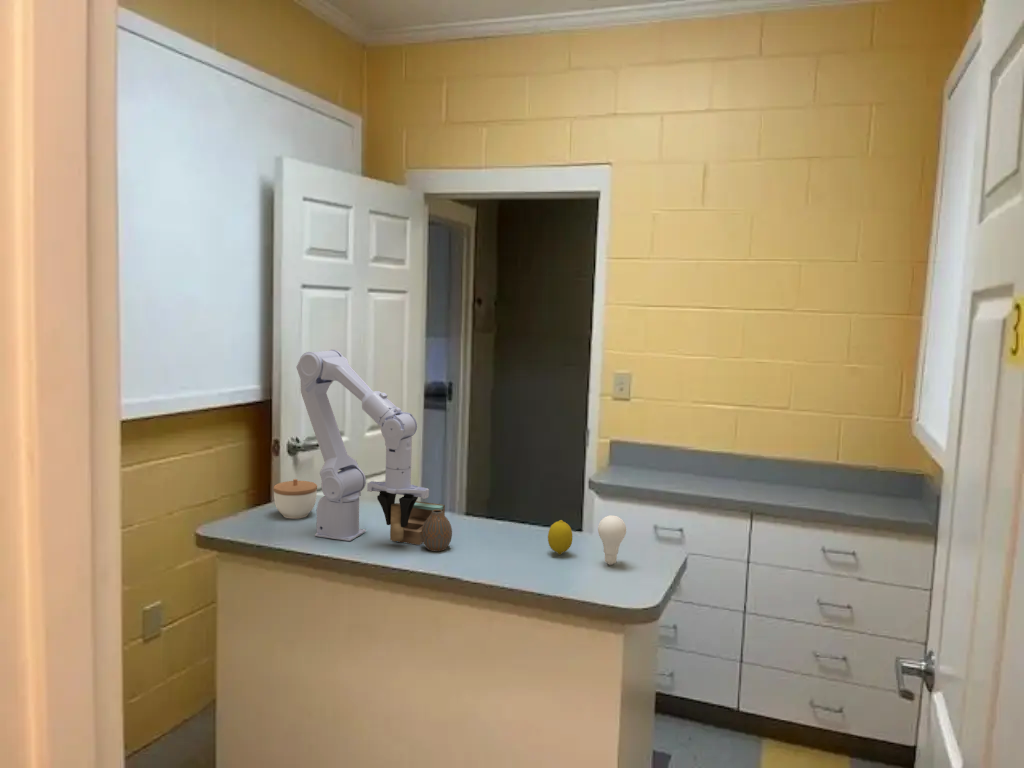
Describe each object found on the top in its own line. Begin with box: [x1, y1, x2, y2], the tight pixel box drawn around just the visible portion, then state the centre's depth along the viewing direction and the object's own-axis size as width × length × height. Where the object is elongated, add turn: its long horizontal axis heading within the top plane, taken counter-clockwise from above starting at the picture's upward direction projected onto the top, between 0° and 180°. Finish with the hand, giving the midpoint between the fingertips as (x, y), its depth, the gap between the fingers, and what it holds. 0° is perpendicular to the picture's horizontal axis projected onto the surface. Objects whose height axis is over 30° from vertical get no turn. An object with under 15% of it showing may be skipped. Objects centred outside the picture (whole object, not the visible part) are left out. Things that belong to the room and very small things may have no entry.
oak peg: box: [389, 502, 404, 542], centre depth 176 cm, size 3×3×8 cm
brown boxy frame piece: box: [398, 500, 446, 546], centre depth 184 cm, size 10×11×7 cm
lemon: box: [547, 519, 573, 556], centre depth 174 cm, size 6×6×8 cm
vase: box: [422, 510, 453, 552], centre depth 176 cm, size 7×7×9 cm
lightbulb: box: [597, 515, 627, 566], centre depth 169 cm, size 6×6×11 cm
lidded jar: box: [272, 478, 318, 520], centre depth 197 cm, size 11×11×9 cm
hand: (397, 525), depth 177 cm, fingers closed on oak peg, 3 cm apart
